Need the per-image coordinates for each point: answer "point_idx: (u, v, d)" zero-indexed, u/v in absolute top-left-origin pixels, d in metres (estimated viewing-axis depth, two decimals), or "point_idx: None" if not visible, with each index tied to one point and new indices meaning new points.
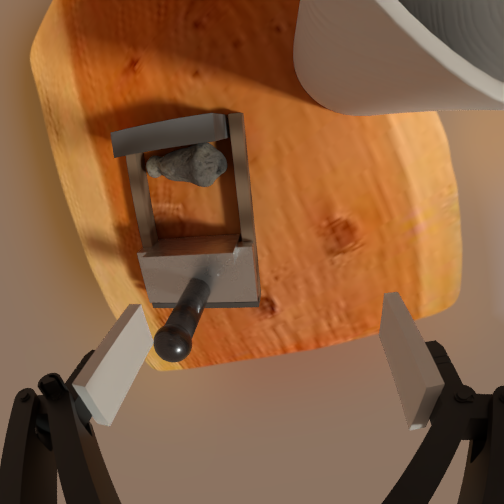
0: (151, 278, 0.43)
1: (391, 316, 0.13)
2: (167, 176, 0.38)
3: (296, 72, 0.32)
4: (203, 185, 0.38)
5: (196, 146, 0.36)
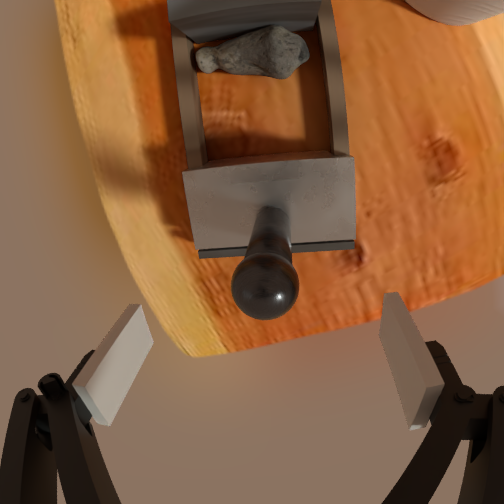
0: (201, 210, 0.30)
1: (391, 316, 0.13)
2: (227, 65, 0.25)
3: None
4: (281, 72, 0.25)
5: (271, 26, 0.23)
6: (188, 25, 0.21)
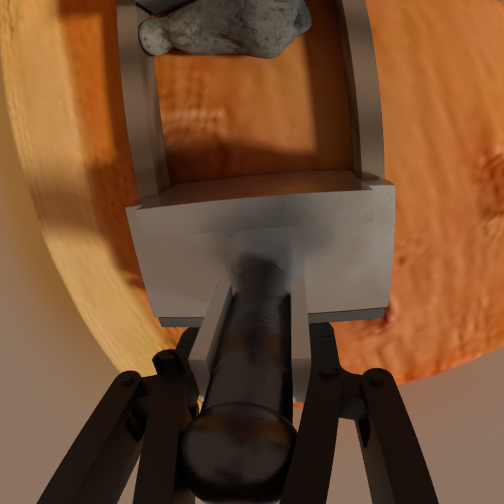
0: (157, 265, 0.20)
1: None
2: (182, 39, 0.15)
3: None
4: (265, 46, 0.14)
5: None
6: None
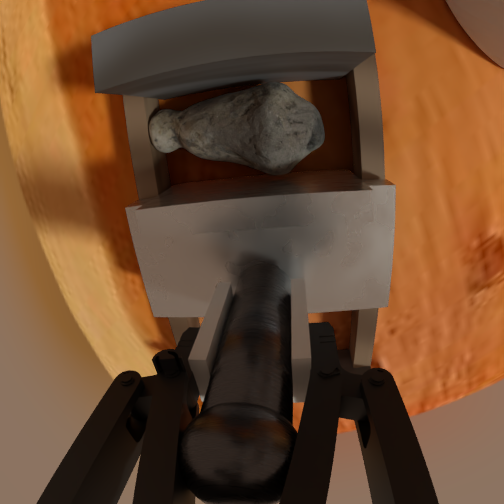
0: (157, 265, 0.20)
1: None
2: (194, 149, 0.18)
3: None
4: (276, 171, 0.17)
5: (266, 86, 0.15)
6: (135, 89, 0.13)
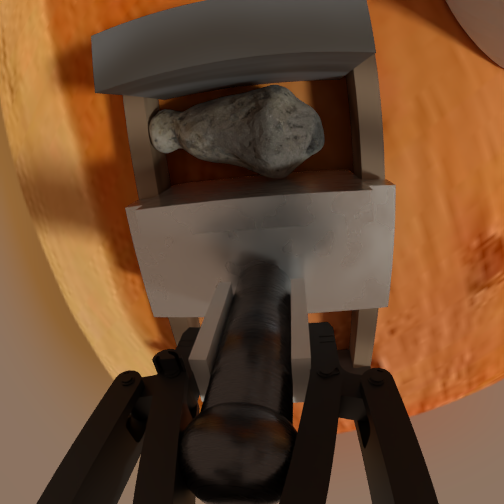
0: (157, 265, 0.20)
1: None
2: (193, 150, 0.18)
3: None
4: (275, 175, 0.17)
5: (267, 89, 0.16)
6: (135, 89, 0.13)
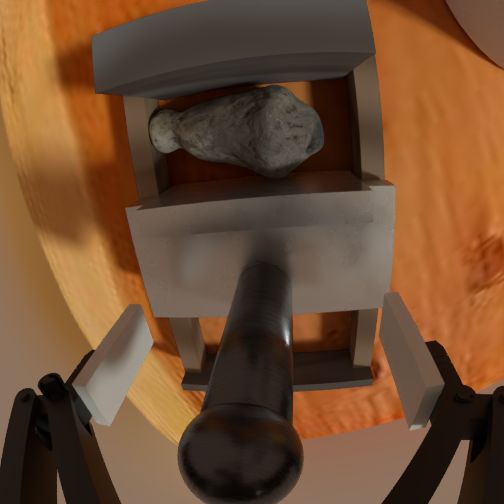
0: (157, 265, 0.20)
1: (391, 316, 0.13)
2: (193, 150, 0.18)
3: None
4: (275, 174, 0.17)
5: (267, 89, 0.16)
6: (135, 90, 0.13)
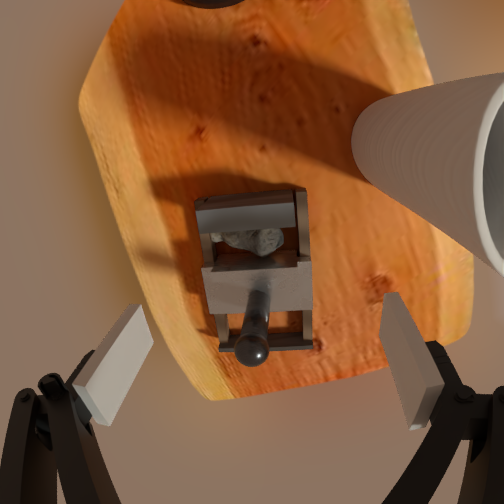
0: (213, 291, 0.47)
1: (391, 316, 0.13)
2: (230, 244, 0.46)
3: (356, 158, 0.39)
4: (263, 256, 0.45)
5: None
6: None
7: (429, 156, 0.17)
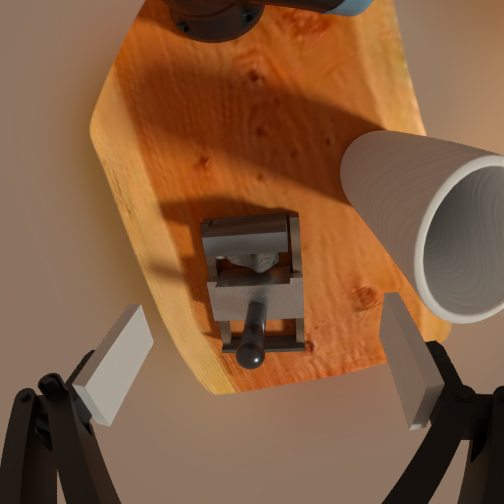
0: (217, 302, 0.54)
1: (391, 316, 0.13)
2: (231, 262, 0.52)
3: (343, 188, 0.46)
4: (260, 272, 0.52)
5: None
6: None
7: (390, 220, 0.24)
